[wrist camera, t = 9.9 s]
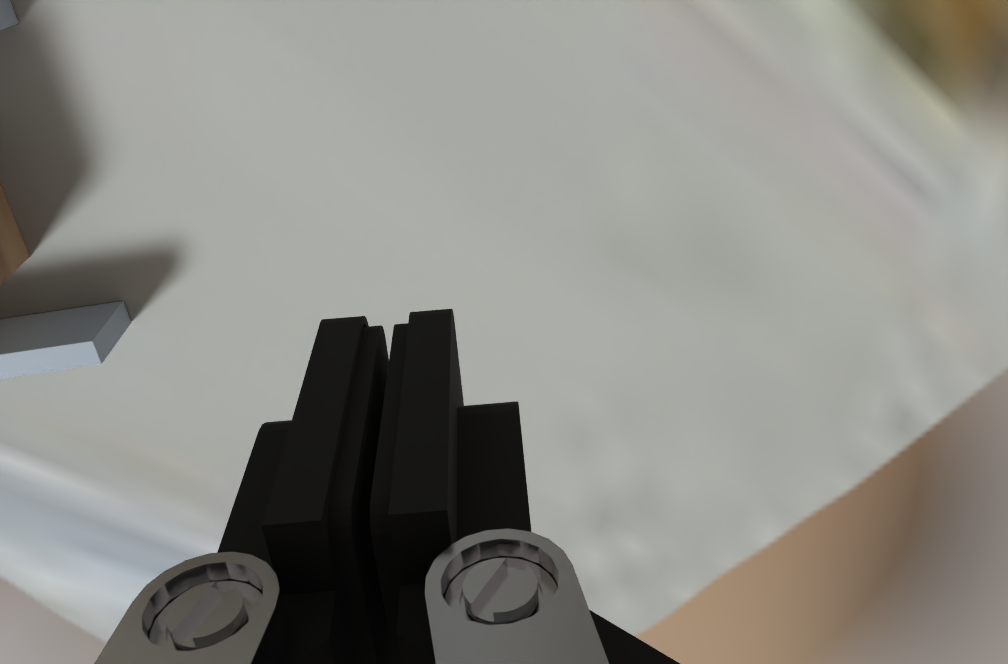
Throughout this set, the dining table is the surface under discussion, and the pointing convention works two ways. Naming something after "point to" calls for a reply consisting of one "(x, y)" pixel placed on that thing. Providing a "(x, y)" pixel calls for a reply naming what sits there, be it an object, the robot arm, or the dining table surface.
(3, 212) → the block
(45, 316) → the bay
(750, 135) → the dining table surface
